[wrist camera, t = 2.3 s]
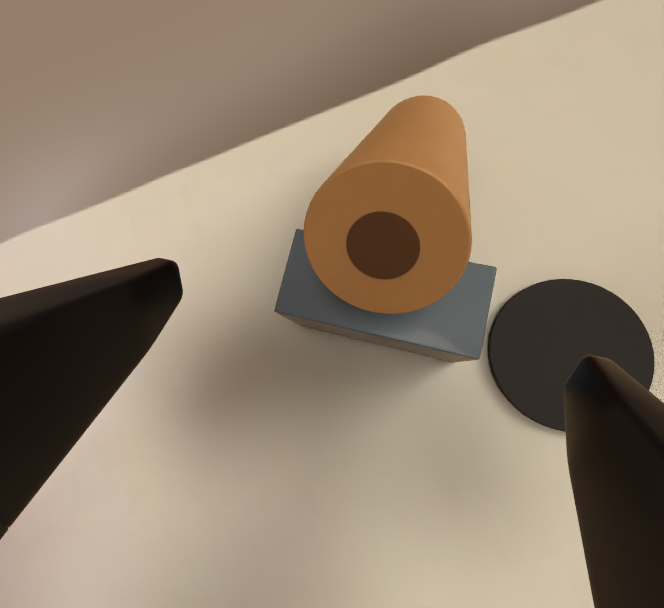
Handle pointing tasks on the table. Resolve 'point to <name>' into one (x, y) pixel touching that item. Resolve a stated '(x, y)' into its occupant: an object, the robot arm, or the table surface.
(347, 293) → the paper roll
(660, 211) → the table surface
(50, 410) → the robot arm
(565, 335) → the coaster
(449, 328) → the lean block
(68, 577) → the table surface
